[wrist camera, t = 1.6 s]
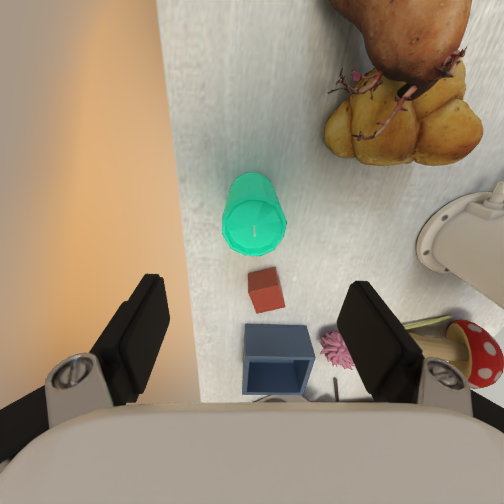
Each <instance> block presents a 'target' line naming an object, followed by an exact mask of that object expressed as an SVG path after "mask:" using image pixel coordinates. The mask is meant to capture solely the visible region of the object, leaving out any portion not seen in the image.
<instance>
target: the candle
mask: <svg viewBox="0 0 504 504" xmlns="http://www.w3.org/2000/svg"><path fill="white" fill-rule="evenodd" d="M286 224H287V221H286V218H285V216H284V213H283V211H282V208H281V206H280V203H279V201H278V198H277V196H276V193H275V191H274V189H273V186H272V184H271V182H270V180H269V179H267V178H266V177H265V176H263V175H262V174H260V173H250V172H247V173H245V174H243V175H241V176H240V177H238V178H236V180H235V181H234V183H233V185H232V186H231V188H230V191H229V195H228V198H227V202H226V206H225V210H224V213H223V217H222V234H223V236H224V238H225V240H226V242H227V243H228V245H229V247H230V249H232V250H235V251H237V252H239V253H241V254H243V255H248V256H262V255H264V254H266V253H268V252H271V251H273V250H275V248H276V247H277V245H278V244H279V243H280V241H281V240H282V238H283V237H284V234H285V229H286Z"/></svg>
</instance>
